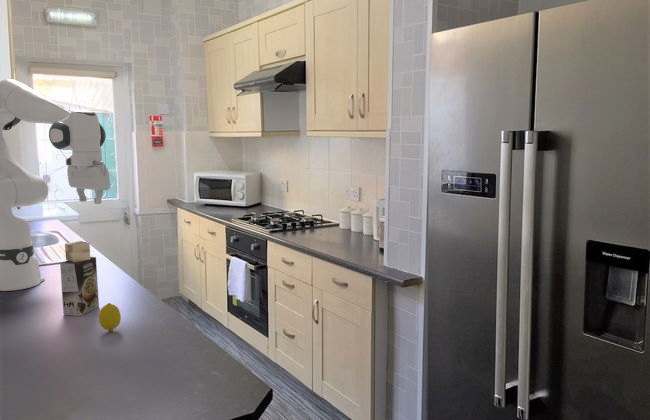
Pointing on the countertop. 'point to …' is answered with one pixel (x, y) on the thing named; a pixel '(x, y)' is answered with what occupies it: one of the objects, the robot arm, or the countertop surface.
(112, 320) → the lemon
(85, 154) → the robot arm
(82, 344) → the countertop surface
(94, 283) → the coffee box
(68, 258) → the beech cube
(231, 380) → the countertop surface
